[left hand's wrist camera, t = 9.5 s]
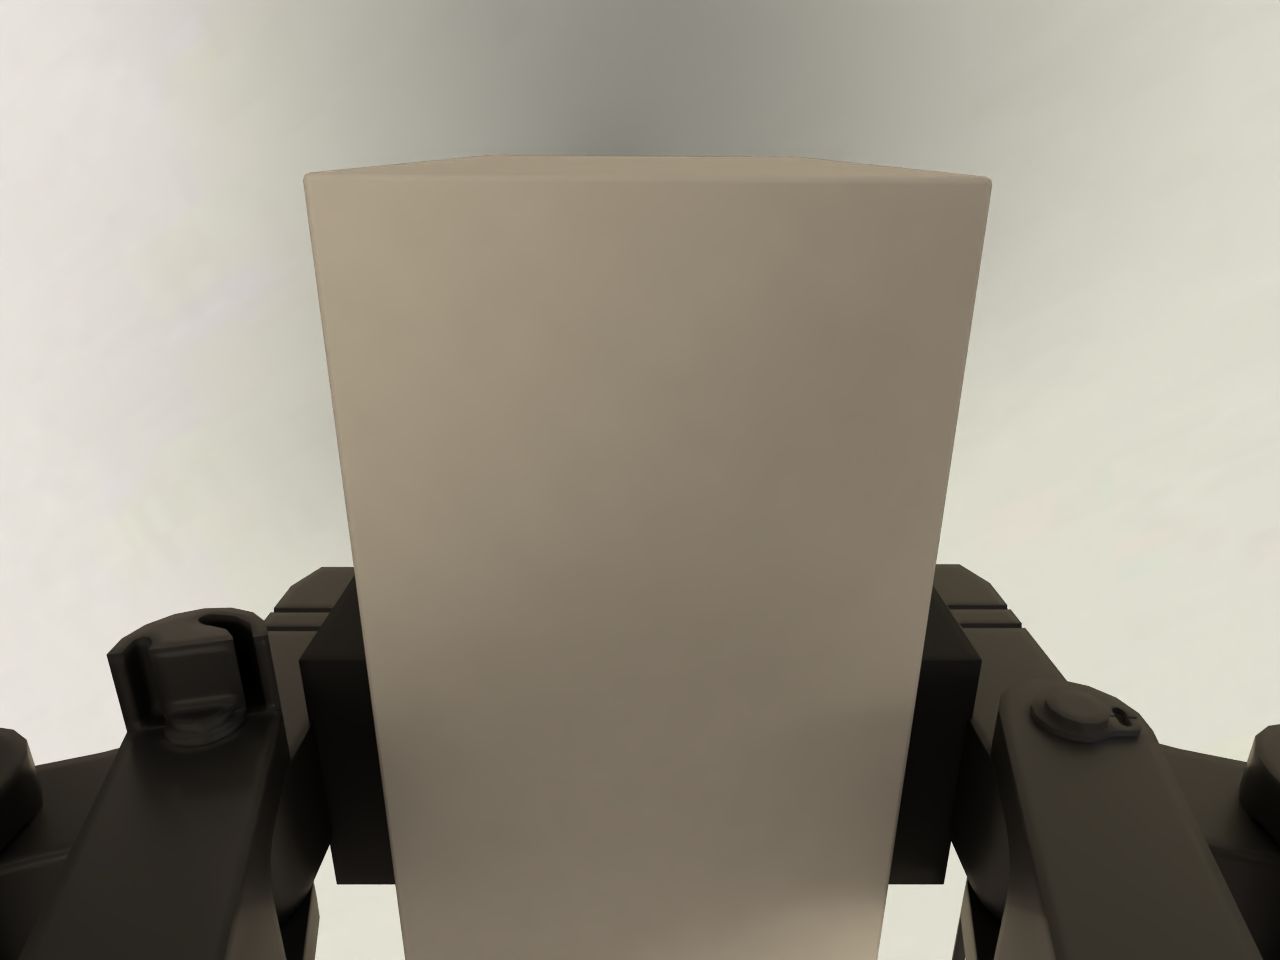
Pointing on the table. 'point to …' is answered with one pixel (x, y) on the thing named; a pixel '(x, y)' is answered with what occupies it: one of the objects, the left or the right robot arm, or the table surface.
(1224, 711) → the table surface
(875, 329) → the beam
